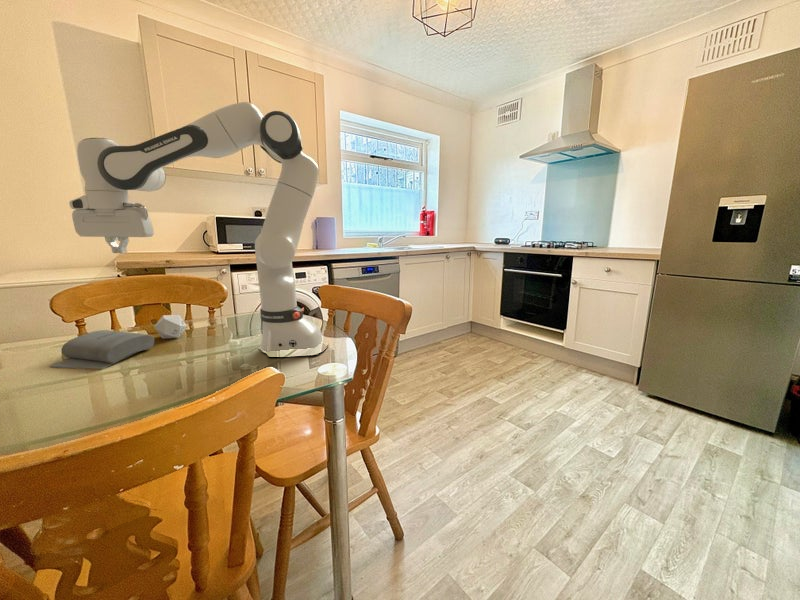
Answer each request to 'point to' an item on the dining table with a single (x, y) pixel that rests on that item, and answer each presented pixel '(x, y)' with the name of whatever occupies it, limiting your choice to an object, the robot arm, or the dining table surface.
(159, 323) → the die
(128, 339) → the grey flat lettered container
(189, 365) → the dining table surface
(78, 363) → the mat
